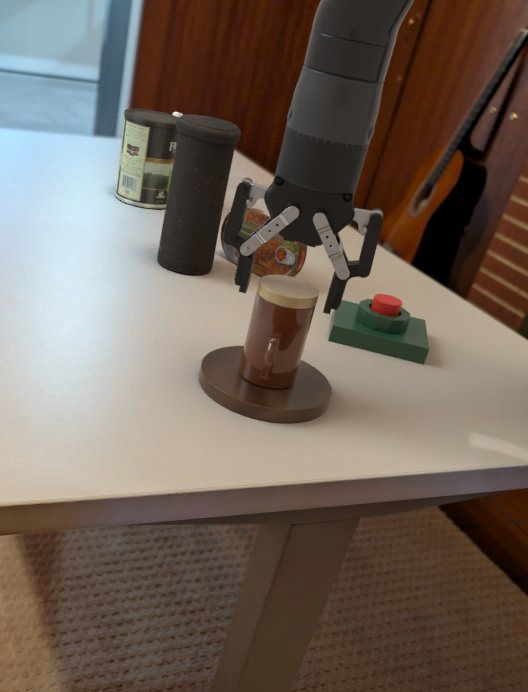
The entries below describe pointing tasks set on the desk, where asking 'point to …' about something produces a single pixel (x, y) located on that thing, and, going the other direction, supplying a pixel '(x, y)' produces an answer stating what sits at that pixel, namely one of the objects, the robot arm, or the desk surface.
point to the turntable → (263, 390)
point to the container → (196, 193)
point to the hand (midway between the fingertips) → (284, 300)
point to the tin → (267, 248)
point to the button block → (379, 331)
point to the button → (386, 305)
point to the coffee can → (146, 158)
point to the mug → (278, 331)
